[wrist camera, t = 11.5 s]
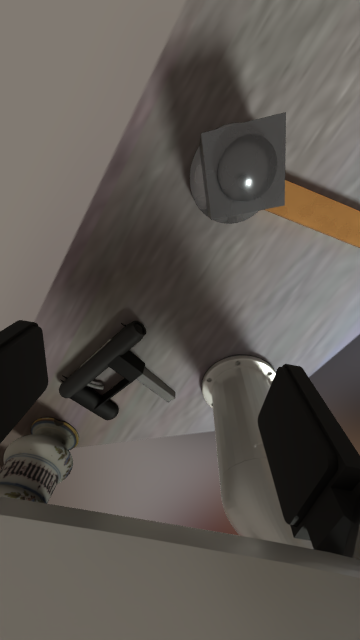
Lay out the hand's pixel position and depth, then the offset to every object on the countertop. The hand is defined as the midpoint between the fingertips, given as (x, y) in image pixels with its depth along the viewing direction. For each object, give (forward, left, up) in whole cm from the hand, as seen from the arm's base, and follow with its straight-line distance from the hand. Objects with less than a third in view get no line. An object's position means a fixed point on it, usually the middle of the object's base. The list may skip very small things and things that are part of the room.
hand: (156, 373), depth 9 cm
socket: (-2, -9, -22) cm, 24 cm away
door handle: (+2, +23, -24) cm, 34 cm away
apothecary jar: (+13, +44, -24) cm, 51 cm away
